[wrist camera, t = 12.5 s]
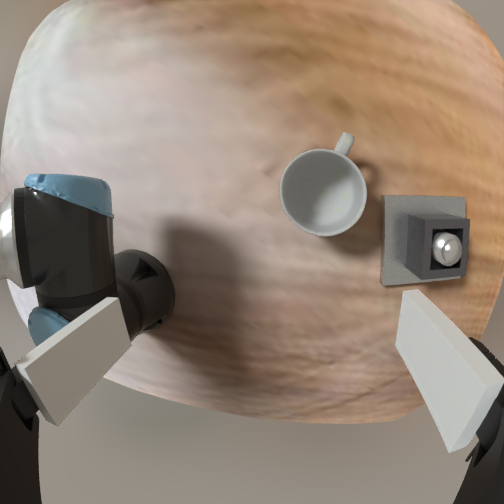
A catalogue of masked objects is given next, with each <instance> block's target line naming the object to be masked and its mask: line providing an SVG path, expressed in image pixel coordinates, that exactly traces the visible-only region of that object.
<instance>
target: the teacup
mask: <svg viewBox="0 0 504 504" xmlns="http://www.w3.org/2000/svg"><path fill="white" fill-rule="evenodd" d="M353 142H354V136H353V135H352V134H350V133H347V132H344V133H343V134H342V136H341V137H340V139H339V141H338V143H337V145H336V147H335V150H334V151H333V150H328V149H313V150H309V151H306V152H304V153H302V154H300V155H298V156H297V157H296V158H294V159H293V160H292V161H291V162H290V163H289V165H288V166H287V167H286V169H285V171H284V172H283V175H282V178H281V182H280V188H279V193H280V200H281V204H282V207H283V210H284V212H285V213H286V215H287V216H288V218H289V219H290V220H291V221H292V222H293V223H294V224H295V225H296V226H297V227H298V228H300V229H301V230H303V231H304V232H307V233H309V234H312V235H315V236H322V237H325V236H334V235H337V234H340V233H343V232H345V231H346V230H348V229H349V228H351V227H352V226H353V225H354V224H355V223H356V222H357V221H358V220H359V218H360V217H361V215H362V214H363V211H364V209H365V205H366V201H367V188H366V183H365V179H364V177H363V175H362V173H361V171H360V169H359V168H358V167H357V166H356V165H355V163H354V162H352V161H351V160H350V159H349V158H347V155H348V153H349V151H350V149H351V147H352V145H353Z"/></svg>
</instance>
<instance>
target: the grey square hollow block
mask: <svg viewBox="0 0 504 504" xmlns="http://www.w3.org/2000/svg"><path fill="white" fill-rule="evenodd" d="M469 228H470V219H467V218H463V217H459V216H455V215H451V214H408V231H407V255H406V268H407V269H408V270H409V271H411V272H412V273H413V274H414V275H416V276H417V277H418V278H419V279H421V280H427V279H437V278H447V277H456V276H465V272H466V264H467V255H468V244H469ZM433 229H443V231H444V232H447V233H450V234H453V235H455V236H457V237H458V238H459V240H460V242H461V246H462V255H461V257H460V259H459V260H458V261H457V262H456V263H455V264H453V265H451V266H445V265H443V264H441V263H440V262H438V261H436V260H434V259H433V258H431V249H432V230H433Z"/></svg>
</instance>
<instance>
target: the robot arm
mask: <svg viewBox="0 0 504 504" xmlns="http://www.w3.org/2000/svg"><path fill="white" fill-rule="evenodd" d="M24 186H26V187H24V188H17V189H12V190H11V191H10V192H9V194H8V195H7V196H6V198H5V199H4V201H3V202H1V203H0V280H3V279H10V280H11V281H13V282H14V283H15V284H16V285H17V286H19V287H20V288H21V289H25V288H29V287H34V286H35V289H36V294H37V299H38V303H39V307H35V308H34V309H33V310H32V312H31V313H30V315H29V319H28V327H29V331H30V334H31V337H32V339H33V341H34V343H35V345H36V348H34V349H33V350H32V351H30V352H29V353H28V354H26V355H25V356H24V357H22V358H21V359H20V360H18V362H16V363H15V367H13V368H12V369H11V368H10V366H9V364H8V362H7V359H6V357H5V355H4V353H3V350H2V349H1V347H0V504H42V502H41V493H40V483H39V464H38V438H39V417H38V416H37V414H36V412H37V411H38V410H40V411H41V413H42V415H43V416H44V417H45V419H46V420H47V421H48V422H50V423H52V424H54V425H56V426H59V425H60V424H61V422H62V421H63V420H64V419H65V418H66V417H67V416H68V415H69V413H70V412H71V411H72V410H73V409H74V408H75V407H76V406H77V405H78V403H79V402H80V401H81V400H82V399H83V398H84V397H85V396H86V394H87V393H88V392H89V391H90V390H91V389H92V388H93V387H94V385H96V383H97V382H98V381H99V380H100V379H101V378H102V377H103V376H104V375H105V374H106V373H107V371H108V370H109V369H110V368H111V367H112V366H113V365H114V364H115V363H116V362H117V361H118V360H119V359H120V357H121V356H122V355H123V354H124V353H125V352H126V351H127V350H128V349H129V348H130V347H131V346H132V345H131V342H132V341H133V340H134V338H135V337H136V336H137V335H140V334H142V333H145V332H148V331H151V330H154V329H156V328H158V327H159V326H161V325H162V324H163V323H164V322H165V321H166V319H167V318H168V317H169V316H170V314H171V312H172V310H173V307H174V301H175V294H174V288H173V284H172V281H171V279H170V277H169V275H168V273H167V271H166V270H165V268H164V267H163V266H162V265H161V264H160V262H159V261H157V260H156V259H155V258H154V257H152V256H151V255H149V254H147V253H145V252H143V251H139V250H125V251H122V252H120V253H118V254H115V255H114V246H113V219H114V215H113V214H112V201H111V189H110V187H109V185H108V184H107V183H106V182H105V181H103V180H101V179H98V178H92V177H85V176H77V175H65V174H30V175H28V176H27V177H26V180H25V182H24ZM395 346H396V348H397V350H398V351H399V353H400V355H401V357H402V359H403V360H404V362H405V364H406V366H407V368H408V370H409V371H410V373H411V375H412V377H413V379H414V381H415V383H416V385H417V387H418V389H419V391H420V392H421V394H422V396H423V398H424V400H425V402H426V404H427V406H428V409H429V410H430V413H431V415H432V417H433V419H434V421H435V423H436V425H437V428H438V430H439V432H440V434H441V436H442V439H443V441H444V443H445V445H446V448H447V450H448V453H451V452H453V451H456V450H458V449H461V448H463V447H465V446H468V444H469V443H470V441H471V440H472V439H473V437H474V435H475V434H477V436H478V438H479V442H478V443H477V445H476V446H475V447H474V449H473V450H472V452H471V453H470V454H469V456H468V457H467V459H466V462H468V461H469V459H470V458H471V456H472V459H471V462H470V464H469V467H468V470H467V473H466V475H465V478H464V480H463V483H462V485H461V487H460V490H459V492H458V494H457V496H456V499H455V500H454V503H453V504H504V366H503V365H502V364H501V363H500V362H499V361H498V360H497V359H495V356H494V355H493V354H492V353H489V350H488V349H487V348H486V347H485V346H484V345H483V344H482V343H481V342H479V341H477V340H475V339H474V338H472V337H470V338H467V337H466V336H465V334H464V333H463V332H462V331H461V330H460V329H459V328H458V327H457V326H456V325H455V324H454V323H453V322H452V321H451V320H450V319H449V318H448V317H447V316H446V315H445V314H444V313H443V312H442V311H440V310H439V309H438V308H437V307H436V306H435V305H434V304H433V303H432V302H431V301H430V300H429V299H428V298H427V297H426V296H425V295H424V294H422V293H421V292H420V291H419V290H418V289H417V290H407V291H403V296H402V304H401V312H400V318H399V325H398V331H397V337H396V342H395Z"/></svg>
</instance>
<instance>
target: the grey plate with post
mask: <svg viewBox="0 0 504 504" xmlns="http://www.w3.org/2000/svg"><path fill="white" fill-rule="evenodd" d="M381 202H382V248H381V272H380V283H381V285H382V286H387V285H399V284H411V283H421V282H431V281H441V280H450V279H459V278H460V277H461V276H456V277H447V278H437V279H427V280H421V279H419V278H418V277H417V276H416V275H414V274H413V273H412V272H411V271H409V270H408V269H407V268H406V255H407V231H408V214H451V215H455V216H459V217H463V218H465V215H466V197H455V196H426V195H381ZM461 255H462V246H461V242H460V240H459V238H458V237H457V236H455V235H453V234H450V233H447V232H444V231H443V229H433V230H432V249H431V258H433V259H434V260H436V261H438V262H440V263H441V264H443V265H445V266H451V265H453V264H455V263H456V262H457V261H458V260H459V259H460V257H461Z"/></svg>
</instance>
